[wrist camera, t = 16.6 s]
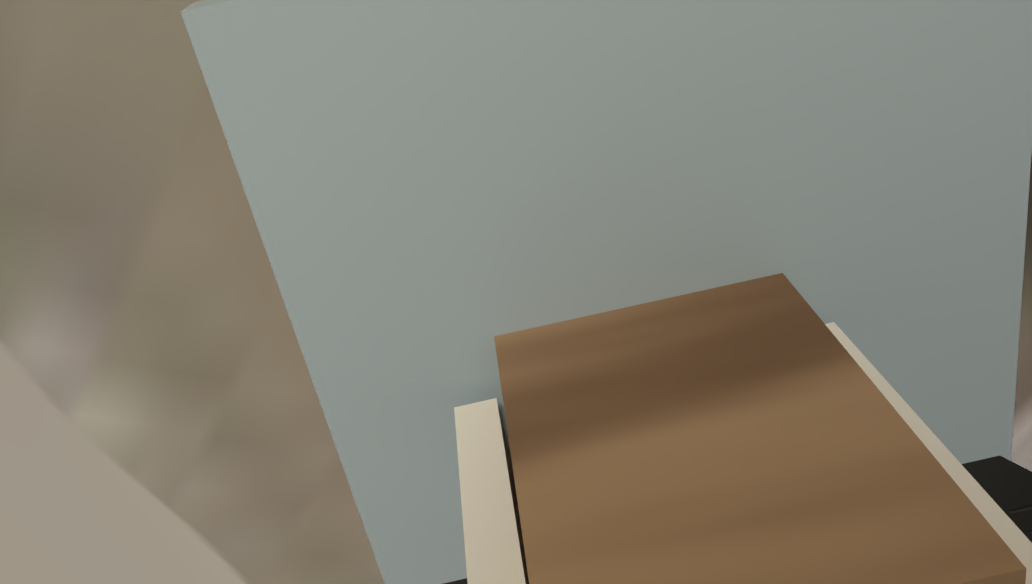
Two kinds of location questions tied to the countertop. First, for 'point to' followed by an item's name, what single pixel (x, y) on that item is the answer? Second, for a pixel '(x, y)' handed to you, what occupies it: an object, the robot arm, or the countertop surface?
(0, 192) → the countertop surface
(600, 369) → the block
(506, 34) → the lid
